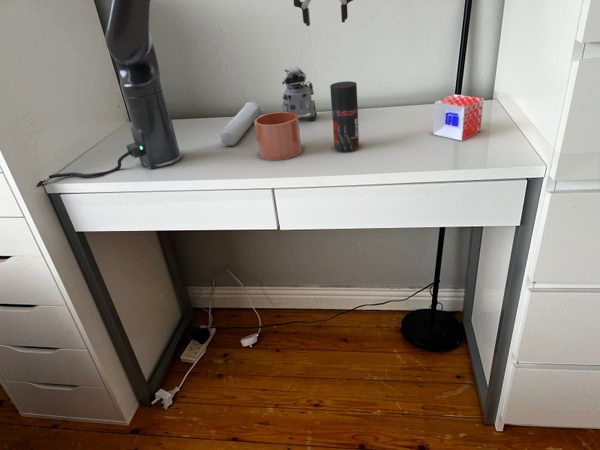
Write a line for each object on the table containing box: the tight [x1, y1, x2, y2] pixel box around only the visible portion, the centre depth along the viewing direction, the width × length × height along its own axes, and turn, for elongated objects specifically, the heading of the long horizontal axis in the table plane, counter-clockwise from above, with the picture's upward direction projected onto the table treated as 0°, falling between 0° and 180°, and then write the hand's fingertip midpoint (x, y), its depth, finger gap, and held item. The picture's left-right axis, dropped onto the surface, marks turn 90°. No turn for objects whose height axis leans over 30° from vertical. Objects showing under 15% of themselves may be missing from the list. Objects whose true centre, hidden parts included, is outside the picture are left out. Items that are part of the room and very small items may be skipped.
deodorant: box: [329, 81, 360, 153], centre depth 104 cm, size 6×6×15 cm
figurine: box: [280, 66, 318, 122], centre depth 126 cm, size 9×12×15 cm
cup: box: [253, 111, 302, 161], centre depth 108 cm, size 10×10×8 cm
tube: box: [219, 101, 261, 147], centre depth 126 cm, size 5×5×25 cm
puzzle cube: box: [432, 93, 485, 141], centre depth 107 cm, size 8×8×8 cm
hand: (325, 23), depth 108 cm, fingers open, 8 cm apart
